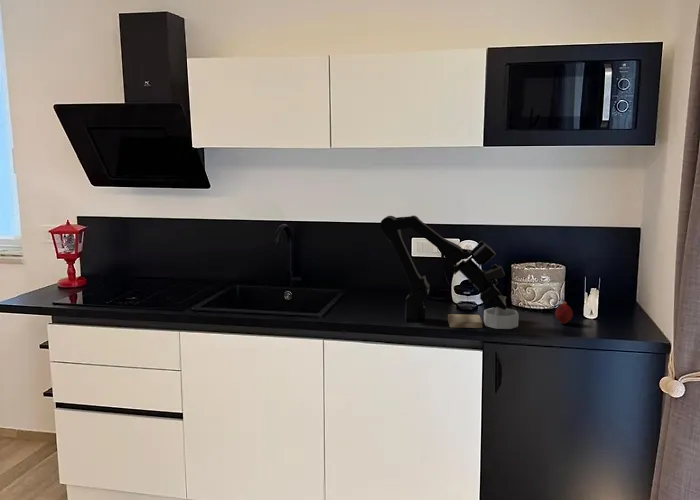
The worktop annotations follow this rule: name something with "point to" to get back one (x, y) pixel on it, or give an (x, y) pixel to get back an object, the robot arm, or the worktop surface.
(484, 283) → the robot arm
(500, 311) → the flask
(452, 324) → the oak board
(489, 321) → the collar
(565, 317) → the onion
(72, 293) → the worktop surface
